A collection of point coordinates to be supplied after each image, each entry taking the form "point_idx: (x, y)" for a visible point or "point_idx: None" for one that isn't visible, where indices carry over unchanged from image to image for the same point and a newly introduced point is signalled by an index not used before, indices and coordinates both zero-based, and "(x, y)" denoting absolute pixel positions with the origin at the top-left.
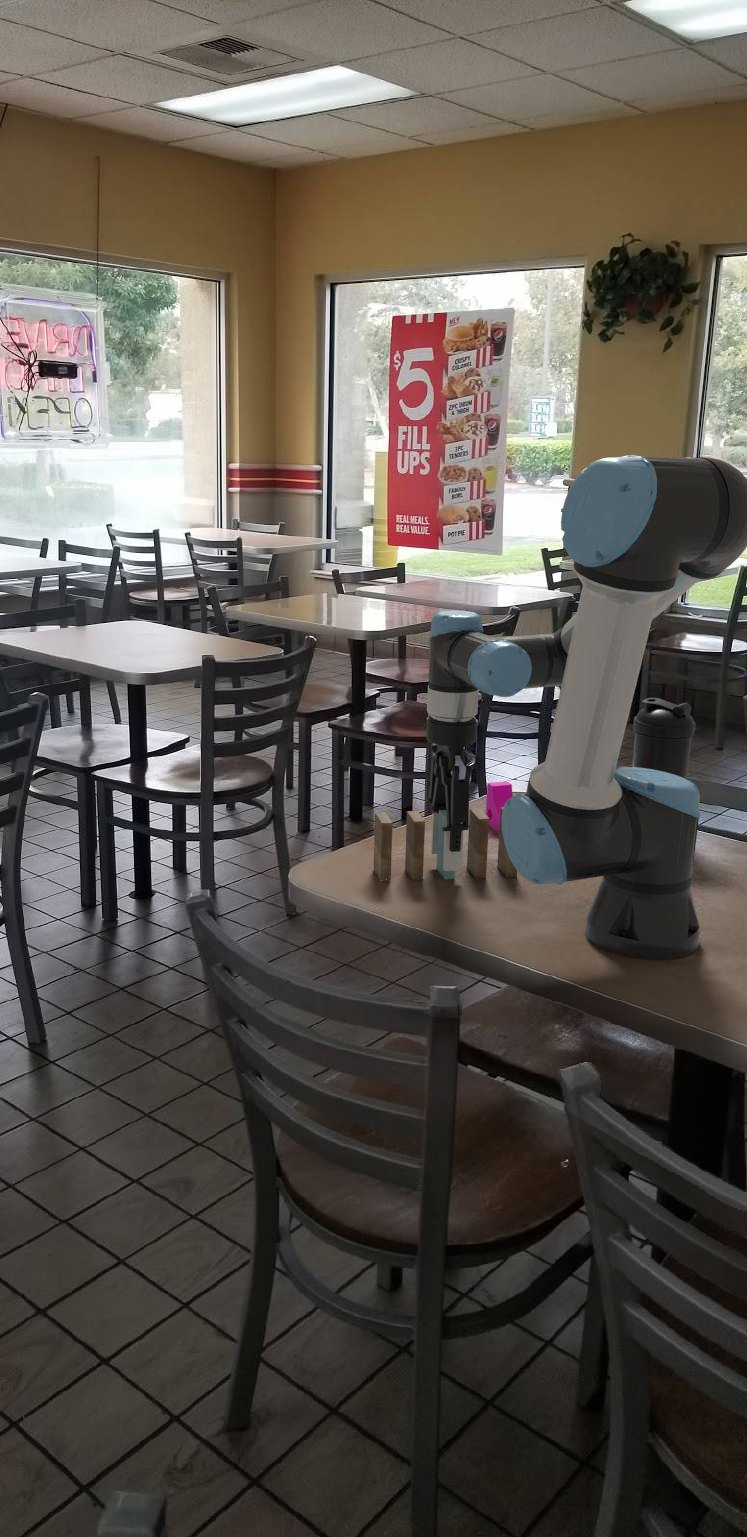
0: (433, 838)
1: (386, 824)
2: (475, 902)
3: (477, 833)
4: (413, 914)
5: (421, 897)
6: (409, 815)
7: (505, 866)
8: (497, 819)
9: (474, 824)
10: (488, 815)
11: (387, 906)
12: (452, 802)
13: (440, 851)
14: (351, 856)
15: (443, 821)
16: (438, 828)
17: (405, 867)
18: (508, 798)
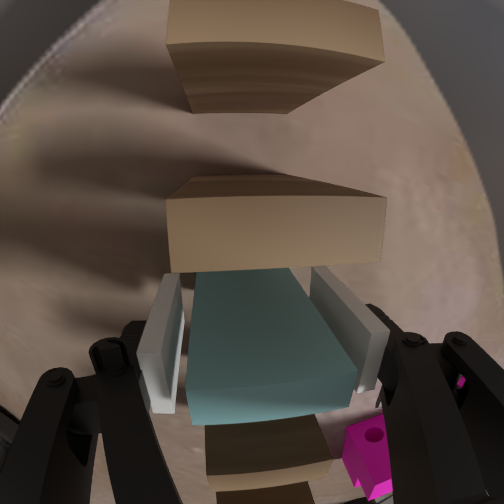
0: (330, 290)
1: (168, 15)
2: (76, 306)
3: (213, 430)
4: (18, 154)
5: (101, 185)
6: (320, 195)
7: None
8: None
9: (257, 441)
10: None
11: (62, 94)
12: (10, 479)
13: (260, 292)
14: (405, 79)
15: (256, 366)
16: (320, 324)
17: (285, 175)
18: None
